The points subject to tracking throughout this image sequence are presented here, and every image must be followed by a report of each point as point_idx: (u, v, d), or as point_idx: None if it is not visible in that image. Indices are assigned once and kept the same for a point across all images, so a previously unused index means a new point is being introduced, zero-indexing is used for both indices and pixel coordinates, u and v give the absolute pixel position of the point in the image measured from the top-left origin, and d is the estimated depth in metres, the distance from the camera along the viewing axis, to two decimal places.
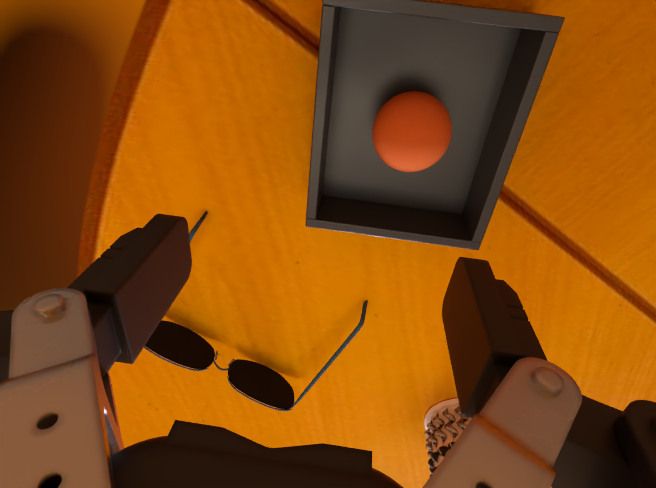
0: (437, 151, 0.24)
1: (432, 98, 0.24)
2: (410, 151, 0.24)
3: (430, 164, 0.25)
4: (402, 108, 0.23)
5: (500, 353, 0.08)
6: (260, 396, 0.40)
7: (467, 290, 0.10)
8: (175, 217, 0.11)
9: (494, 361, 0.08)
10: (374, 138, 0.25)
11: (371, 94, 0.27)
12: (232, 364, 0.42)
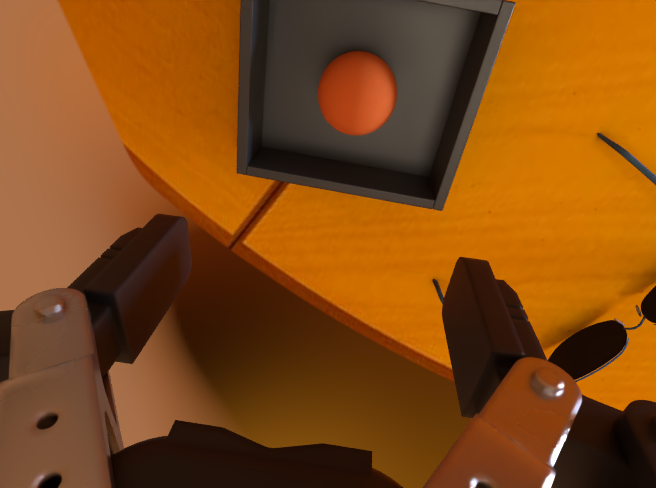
0: (366, 76, 0.23)
1: (321, 76, 0.24)
2: (361, 107, 0.23)
3: (383, 80, 0.23)
4: (325, 111, 0.24)
5: (500, 353, 0.08)
6: None
7: (467, 290, 0.10)
8: (175, 217, 0.11)
9: (494, 361, 0.08)
10: (356, 135, 0.26)
11: None
12: (643, 310, 0.33)
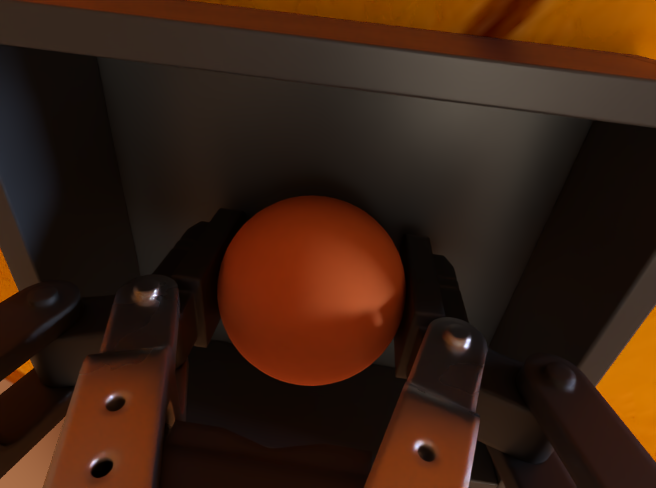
0: (322, 294, 0.08)
1: (221, 263, 0.10)
2: (314, 365, 0.09)
3: (370, 292, 0.09)
4: None
5: (422, 314, 0.09)
6: None
7: (406, 263, 0.11)
8: (237, 211, 0.12)
9: (417, 322, 0.09)
10: None
11: None
12: None
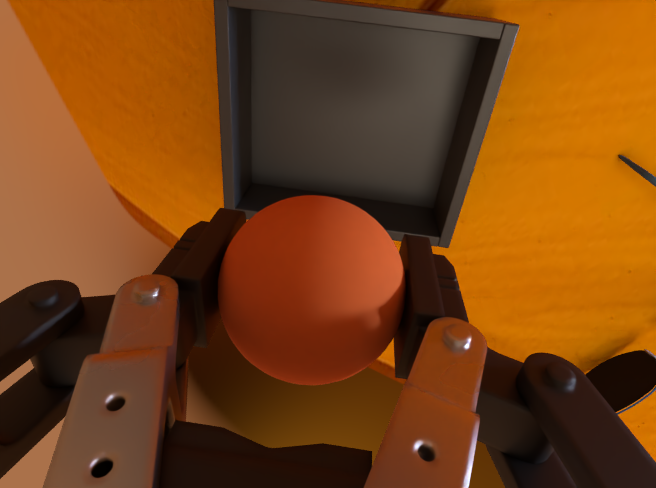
0: (322, 294, 0.08)
1: (222, 263, 0.10)
2: (314, 364, 0.09)
3: (370, 291, 0.09)
4: (234, 343, 0.10)
5: (422, 314, 0.09)
6: None
7: (406, 263, 0.11)
8: (237, 211, 0.12)
9: (417, 322, 0.09)
10: None
11: (324, 156, 0.27)
12: None
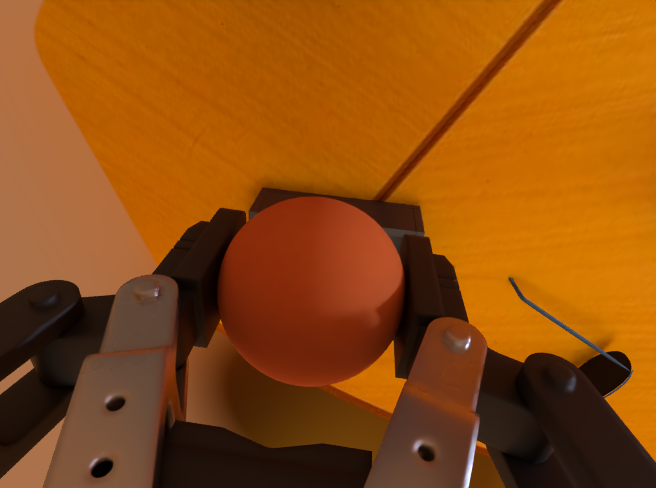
0: (322, 296, 0.08)
1: (221, 264, 0.10)
2: (313, 366, 0.09)
3: (370, 293, 0.09)
4: None
5: (422, 314, 0.09)
6: (603, 389, 0.39)
7: (406, 263, 0.11)
8: (237, 211, 0.12)
9: (417, 322, 0.09)
10: None
11: None
12: None
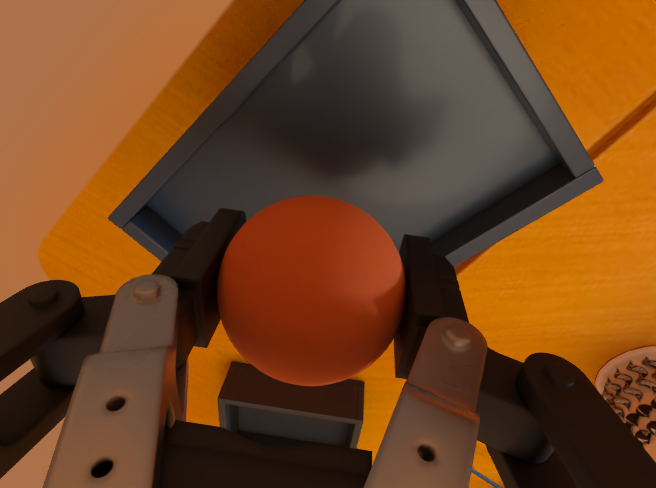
0: (322, 295, 0.08)
1: (221, 263, 0.10)
2: (314, 365, 0.09)
3: (370, 292, 0.09)
4: (234, 344, 0.10)
5: (422, 314, 0.09)
6: None
7: (406, 263, 0.11)
8: (237, 211, 0.12)
9: (417, 322, 0.09)
10: None
11: (280, 423, 0.47)
12: None
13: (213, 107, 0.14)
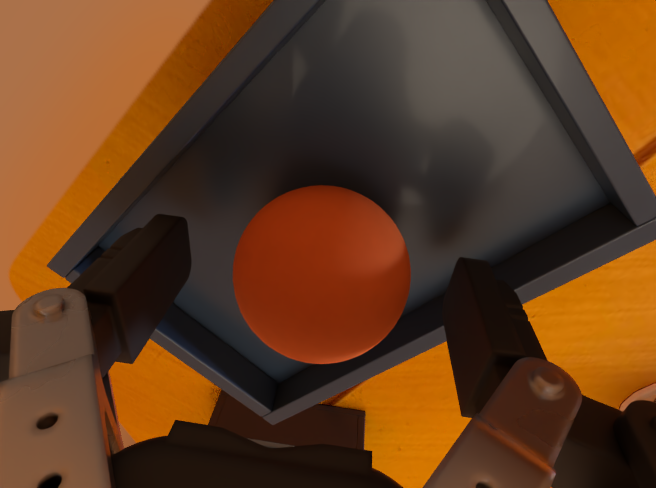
0: (338, 283, 0.09)
1: (236, 254, 0.11)
2: (331, 346, 0.10)
3: (381, 277, 0.09)
4: (251, 329, 0.11)
5: (500, 353, 0.08)
6: None
7: (467, 290, 0.10)
8: (175, 217, 0.11)
9: (494, 361, 0.08)
10: None
11: None
12: None
13: (165, 135, 0.11)
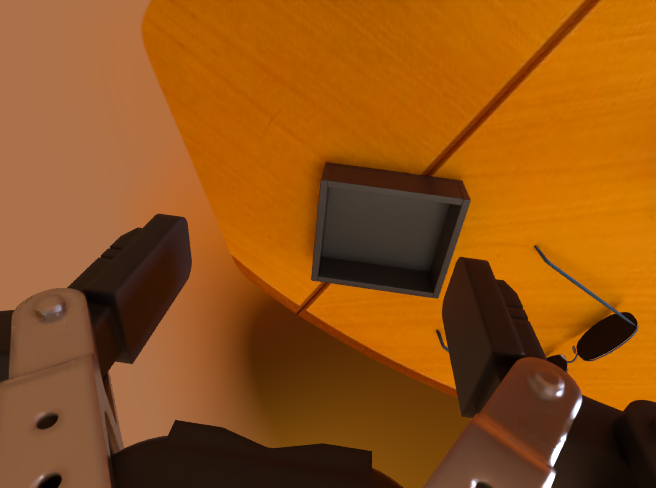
0: None
1: None
2: None
3: None
4: None
5: (500, 353, 0.08)
6: (612, 344, 0.46)
7: (467, 290, 0.10)
8: (175, 217, 0.11)
9: (494, 361, 0.08)
10: None
11: (366, 243, 0.46)
12: (577, 349, 0.50)
13: None
